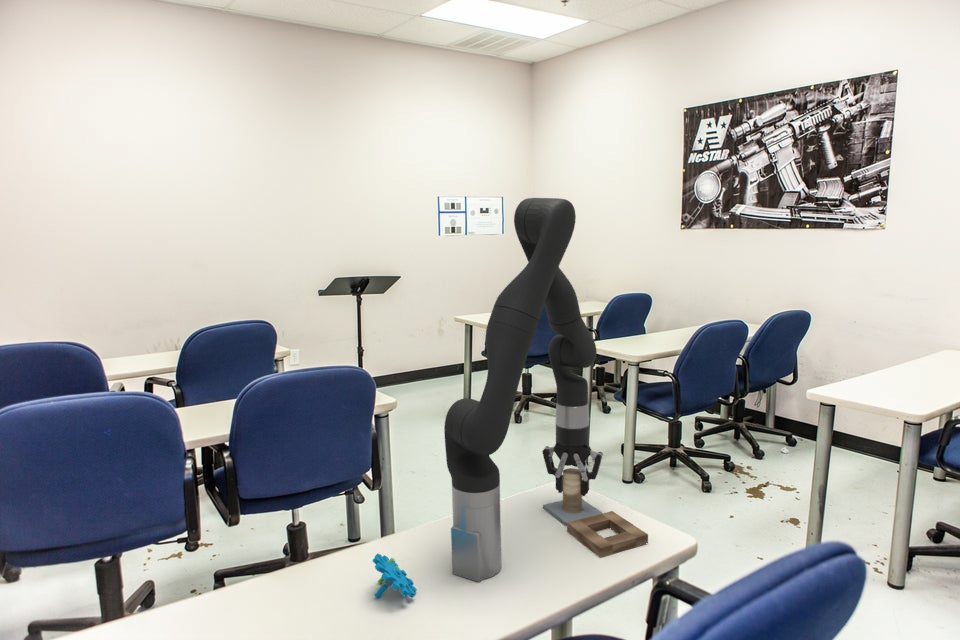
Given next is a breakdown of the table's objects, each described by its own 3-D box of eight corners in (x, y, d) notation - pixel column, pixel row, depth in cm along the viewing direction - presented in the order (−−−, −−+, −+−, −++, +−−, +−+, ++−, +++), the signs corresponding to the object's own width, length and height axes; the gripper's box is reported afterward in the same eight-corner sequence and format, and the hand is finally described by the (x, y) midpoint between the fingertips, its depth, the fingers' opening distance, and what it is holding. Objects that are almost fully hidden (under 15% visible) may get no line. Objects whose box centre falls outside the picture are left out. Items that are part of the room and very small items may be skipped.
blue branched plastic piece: (420, 600, 104) (377, 564, 103) (397, 627, 103) (354, 591, 102) (417, 574, 115) (377, 541, 114) (396, 598, 114) (356, 565, 113)
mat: (603, 516, 137) (603, 513, 136) (566, 526, 132) (566, 522, 132) (578, 499, 146) (578, 496, 146) (542, 508, 142) (542, 504, 141)
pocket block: (647, 543, 124) (648, 534, 124) (600, 557, 119) (600, 548, 119) (612, 519, 135) (612, 510, 135) (567, 531, 130) (567, 522, 130)
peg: (577, 514, 136) (578, 477, 135) (559, 510, 138) (559, 473, 137) (584, 507, 140) (585, 470, 138) (567, 503, 142) (567, 466, 141)
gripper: (537, 424, 135) (538, 496, 137) (601, 430, 130) (601, 504, 132) (545, 414, 142) (546, 483, 144) (606, 419, 137) (606, 490, 139)
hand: (572, 492), depth 138 cm, fingers open, 5 cm apart
